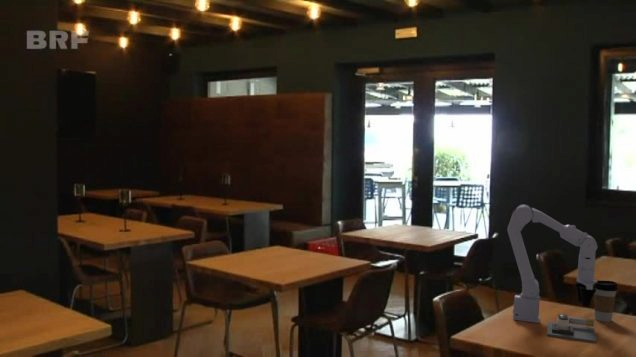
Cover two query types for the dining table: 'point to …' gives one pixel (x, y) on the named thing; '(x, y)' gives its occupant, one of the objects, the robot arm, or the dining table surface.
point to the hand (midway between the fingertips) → (583, 304)
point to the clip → (579, 320)
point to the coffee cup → (604, 300)
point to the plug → (562, 323)
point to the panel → (572, 332)
